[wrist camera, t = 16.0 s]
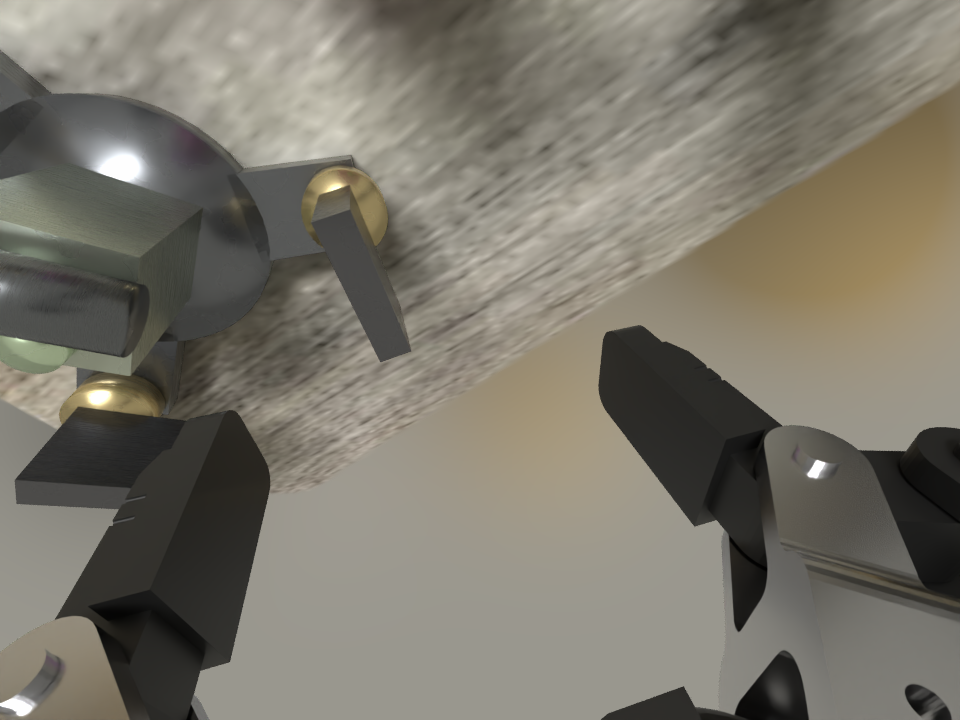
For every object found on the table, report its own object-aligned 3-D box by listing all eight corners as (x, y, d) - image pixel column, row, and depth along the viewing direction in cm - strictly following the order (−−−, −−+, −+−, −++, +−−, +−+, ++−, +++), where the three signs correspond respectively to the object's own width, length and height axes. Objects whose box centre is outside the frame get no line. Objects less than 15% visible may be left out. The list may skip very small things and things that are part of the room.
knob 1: (77, 421, 28) (-6, 521, 22) (78, 364, 26) (-13, 456, 20) (224, 439, 32) (192, 528, 25) (234, 391, 30) (202, 475, 23)
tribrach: (390, 172, 27) (420, 229, 16) (311, 418, 36) (295, 570, 25) (-218, -94, 16) (-1529, -526, 5) (-117, 353, 25) (-500, 569, 14)
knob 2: (289, 179, 24) (266, 213, 17) (367, 154, 24) (374, 177, 18) (353, 308, 29) (354, 371, 22) (416, 285, 29) (436, 341, 23)
